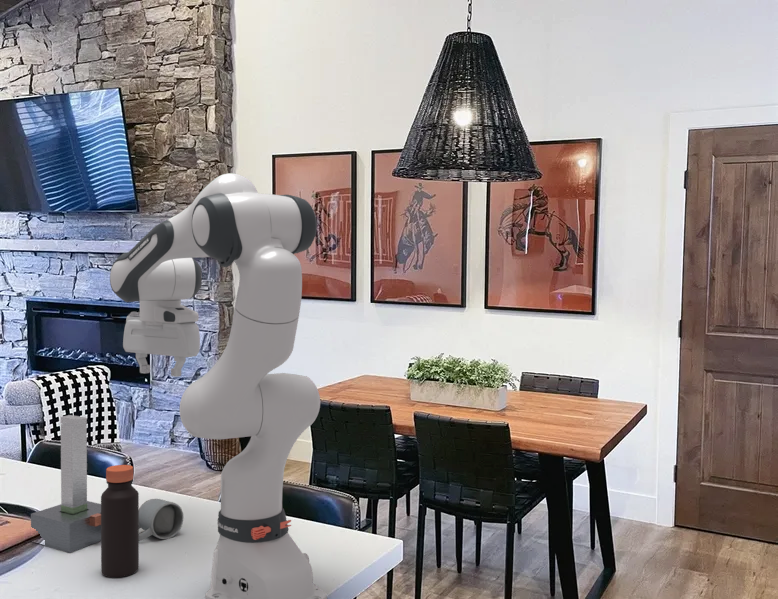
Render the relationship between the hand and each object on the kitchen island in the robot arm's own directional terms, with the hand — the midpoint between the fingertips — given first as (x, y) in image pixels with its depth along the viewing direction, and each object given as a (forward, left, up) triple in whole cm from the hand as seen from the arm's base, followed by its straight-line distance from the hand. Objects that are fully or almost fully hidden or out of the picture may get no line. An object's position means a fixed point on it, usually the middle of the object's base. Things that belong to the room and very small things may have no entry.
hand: (160, 374), depth 173 cm
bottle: (-19, +19, -34) cm, 43 cm away
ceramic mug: (-6, +5, -34) cm, 35 cm away
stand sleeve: (+4, +18, -34) cm, 39 cm away
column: (+4, +18, -29) cm, 34 cm away
